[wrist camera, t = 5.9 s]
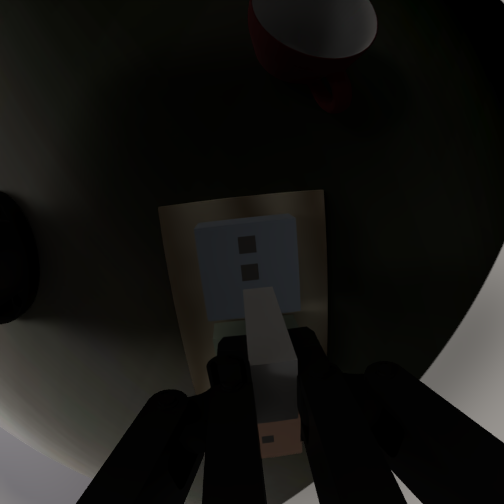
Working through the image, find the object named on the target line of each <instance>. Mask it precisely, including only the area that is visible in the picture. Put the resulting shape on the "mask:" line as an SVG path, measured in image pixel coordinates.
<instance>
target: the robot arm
mask: <svg viewBox="0 0 504 504" xmlns="http://www.w3.org/2000/svg"><path fill="white" fill-rule="evenodd" d="M38 284H39V260H38V253H37V248H36V243H35V240H34V236H33V233H32V231H31V228H30V225H29V223H28V221H27V219H26V217H25V215H24V214H23V212H22V210H21V209H20V207H19V206H18V205H17V204H16V202H15V201H14V200H13V199H11V198H10V197H9V196H8V195H6V194H5V193H2V192H0V324H5V323H9V322H11V321H14V320H15V319H17V318H18V317H19V316H21V315H22V314H23V313H25V312H26V311H27V310H28V309H29V308H30V306H31V305H32V303H33V301H34V299H35V297H36V294H37V290H38ZM243 298H244V311H245V324H246V335H238V336H228V337H223V338H222V339H221V340H220V342H219V343H218V348H217V356H215V357H213V358H212V359H211V360H209V361H208V363H207V365H206V368H207V373H208V377H209V382H210V386H211V387H210V389H208V390H207V391H205V392H204V393H201V394H198V395H195V396H191V397H187V395H186V394H184V393H183V392H182V391H179V390H170V389H168V390H163V391H160V392H158V393H156V394H154V395H153V396H152V397H151V398H150V399H149V400H148V401H147V403H146V404H145V406H144V407H143V408H142V410H141V411H140V413H139V414H138V416H137V417H136V418H135V420H134V421H133V423H132V424H131V426H130V427H129V428H128V430H127V431H126V433H125V434H124V436H123V437H122V438H121V440H120V441H119V443H118V444H117V446H116V447H115V449H114V450H113V451H112V453H111V454H110V456H109V457H108V459H107V460H106V461H105V463H104V464H103V466H102V467H101V469H100V470H99V471H98V473H97V474H96V476H95V477H94V479H93V480H92V482H91V483H90V484H89V486H88V487H87V489H86V490H85V491H84V493H83V494H82V496H81V497H80V499H79V500H78V501H77V503H76V504H184V502H185V500H186V497H187V495H188V493H189V490H190V488H191V485H192V483H193V481H194V478H195V476H196V473H197V471H198V469H199V466H200V464H201V461H202V459H203V456H204V452H205V464H204V479H203V496H202V504H267V500H266V492H265V483H264V475H263V466H262V458H261V449H260V440H259V432H258V424H260V423H269V422H277V421H284V420H291V419H297V418H298V411H299V415H300V419H301V429H300V442H301V441H303V440H304V444H305V448H306V452H307V456H308V460H309V464H310V468H311V472H312V476H313V480H314V484H315V487H316V491H317V495H318V499H319V503H320V504H407V502H406V500H405V498H404V496H403V494H402V492H401V490H400V487H399V485H398V483H397V481H396V479H395V477H394V475H393V473H392V472H391V470H392V471H393V472H394V473H395V474H396V476H397V477H398V478H399V479H400V480H401V481H402V482H403V483H404V484H405V485H406V486H407V487H408V488H409V490H411V492H412V493H413V494H414V495H415V496H416V497H417V498H418V499H419V500H420V501H421V502H422V503H423V504H504V443H503V442H502V441H500V440H499V439H498V438H496V437H495V436H493V435H492V434H491V433H490V432H488V431H487V430H485V429H484V428H483V427H481V426H480V425H479V424H477V423H476V422H474V421H473V420H472V419H471V418H469V417H468V416H467V415H465V414H464V413H463V412H461V411H460V410H459V409H457V408H456V407H454V406H453V405H452V404H450V403H449V402H448V401H446V400H445V399H444V398H442V397H441V396H440V395H438V394H437V393H435V392H434V391H433V390H431V389H430V388H429V387H428V386H426V385H425V384H424V383H422V382H421V381H420V380H418V379H417V378H415V377H414V376H413V375H411V374H410V373H409V372H407V371H406V370H405V369H403V368H402V367H401V366H399V365H397V364H395V363H393V362H388V361H379V362H376V363H373V364H371V365H369V366H368V367H367V369H366V370H365V374H347V373H342V372H341V370H340V369H339V368H338V367H337V366H336V365H334V364H332V363H330V362H329V360H328V358H327V356H326V354H325V352H324V350H323V348H322V346H321V345H320V342H319V340H318V339H317V336H316V334H315V332H314V331H313V330H311V329H310V328H308V327H307V326H306V327H298V328H291V329H287V327H286V324H285V321H284V319H283V316H282V313H281V310H280V307H279V304H278V301H277V298H276V295H275V293H274V290H273V287H263V288H254V289H244V290H243Z"/></svg>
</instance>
